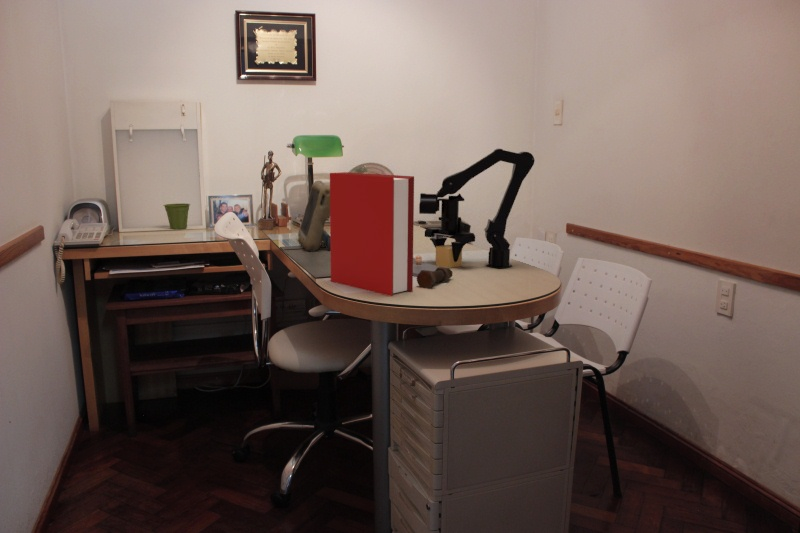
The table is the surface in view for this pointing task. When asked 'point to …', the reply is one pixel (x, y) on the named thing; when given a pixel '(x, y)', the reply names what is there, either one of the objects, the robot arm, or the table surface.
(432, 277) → the bolt
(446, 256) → the wooden toy cube
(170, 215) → the plant pot
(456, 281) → the table surface
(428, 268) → the junction plate
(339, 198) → the book
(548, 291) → the table surface
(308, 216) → the rugged handheld device
